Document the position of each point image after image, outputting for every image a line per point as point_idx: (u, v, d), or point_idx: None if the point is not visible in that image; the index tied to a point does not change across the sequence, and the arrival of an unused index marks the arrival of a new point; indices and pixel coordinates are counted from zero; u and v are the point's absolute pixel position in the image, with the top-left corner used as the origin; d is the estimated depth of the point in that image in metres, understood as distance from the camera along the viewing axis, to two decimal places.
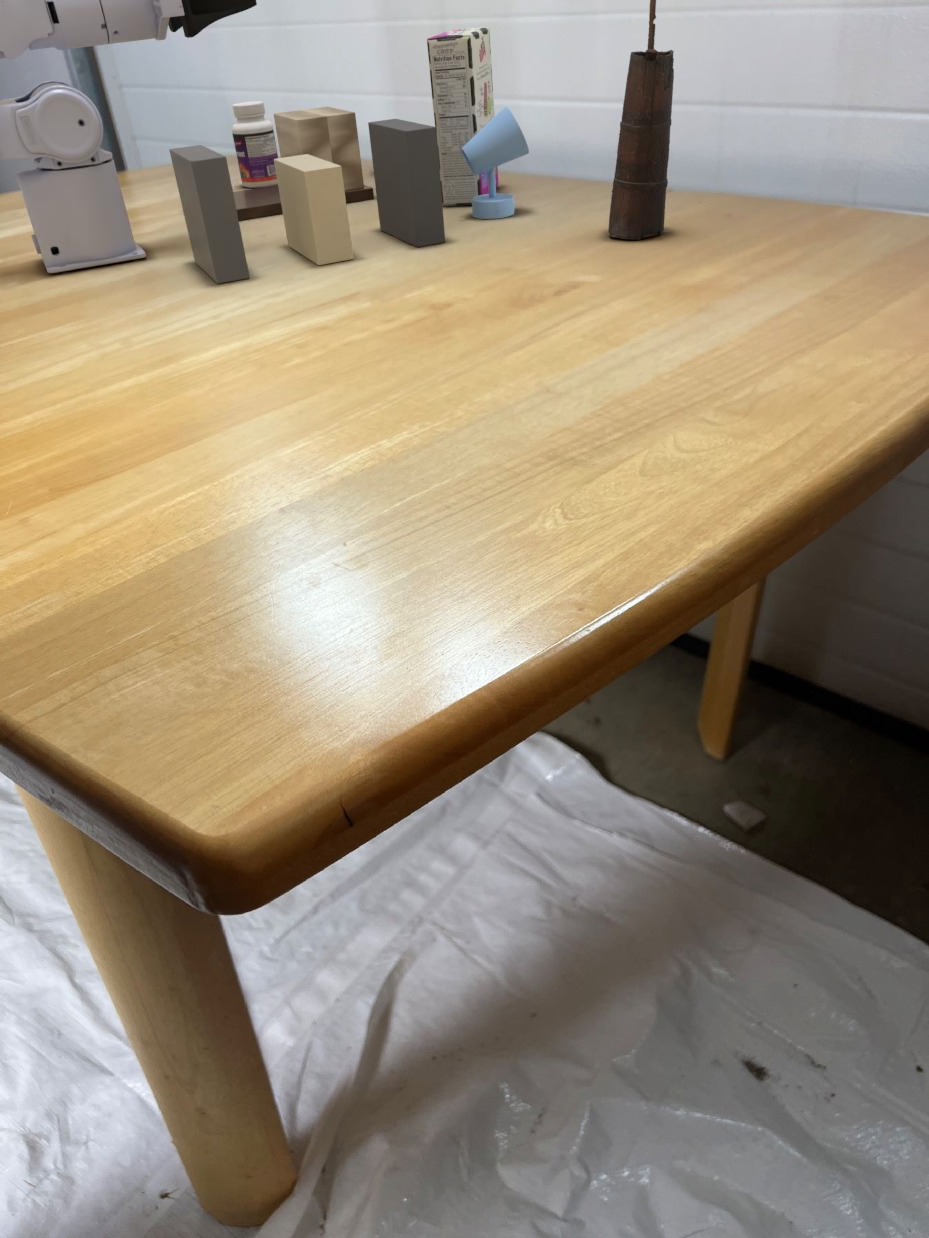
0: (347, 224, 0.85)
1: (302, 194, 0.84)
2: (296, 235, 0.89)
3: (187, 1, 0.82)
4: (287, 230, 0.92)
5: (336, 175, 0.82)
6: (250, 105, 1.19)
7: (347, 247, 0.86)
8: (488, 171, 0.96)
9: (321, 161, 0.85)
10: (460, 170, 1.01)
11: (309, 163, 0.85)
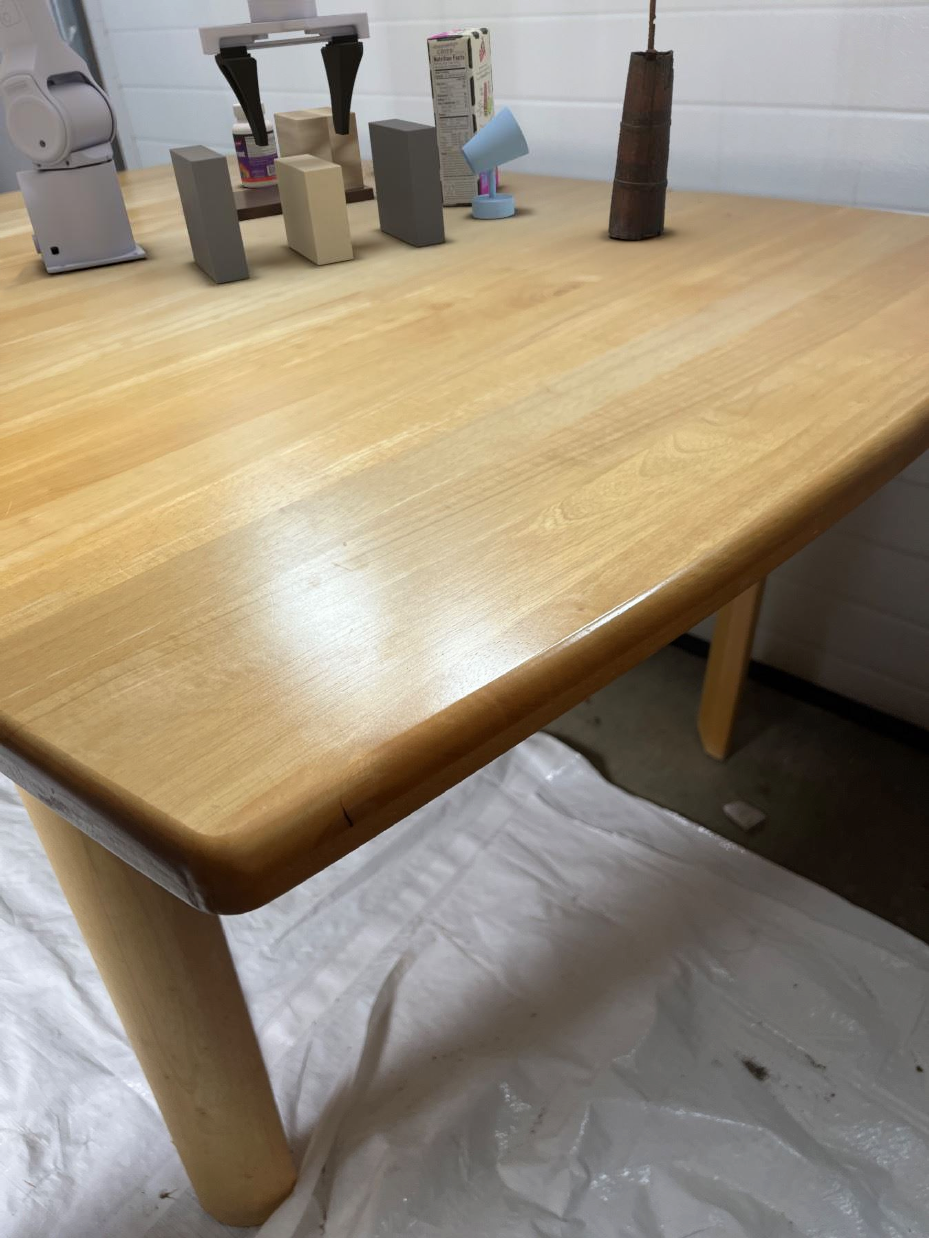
0: (347, 224, 0.85)
1: (302, 194, 0.84)
2: (296, 235, 0.89)
3: (221, 63, 0.79)
4: (287, 230, 0.92)
5: (336, 175, 0.82)
6: None
7: (347, 247, 0.86)
8: (488, 171, 0.96)
9: (321, 161, 0.85)
10: (460, 170, 1.01)
11: (309, 163, 0.85)
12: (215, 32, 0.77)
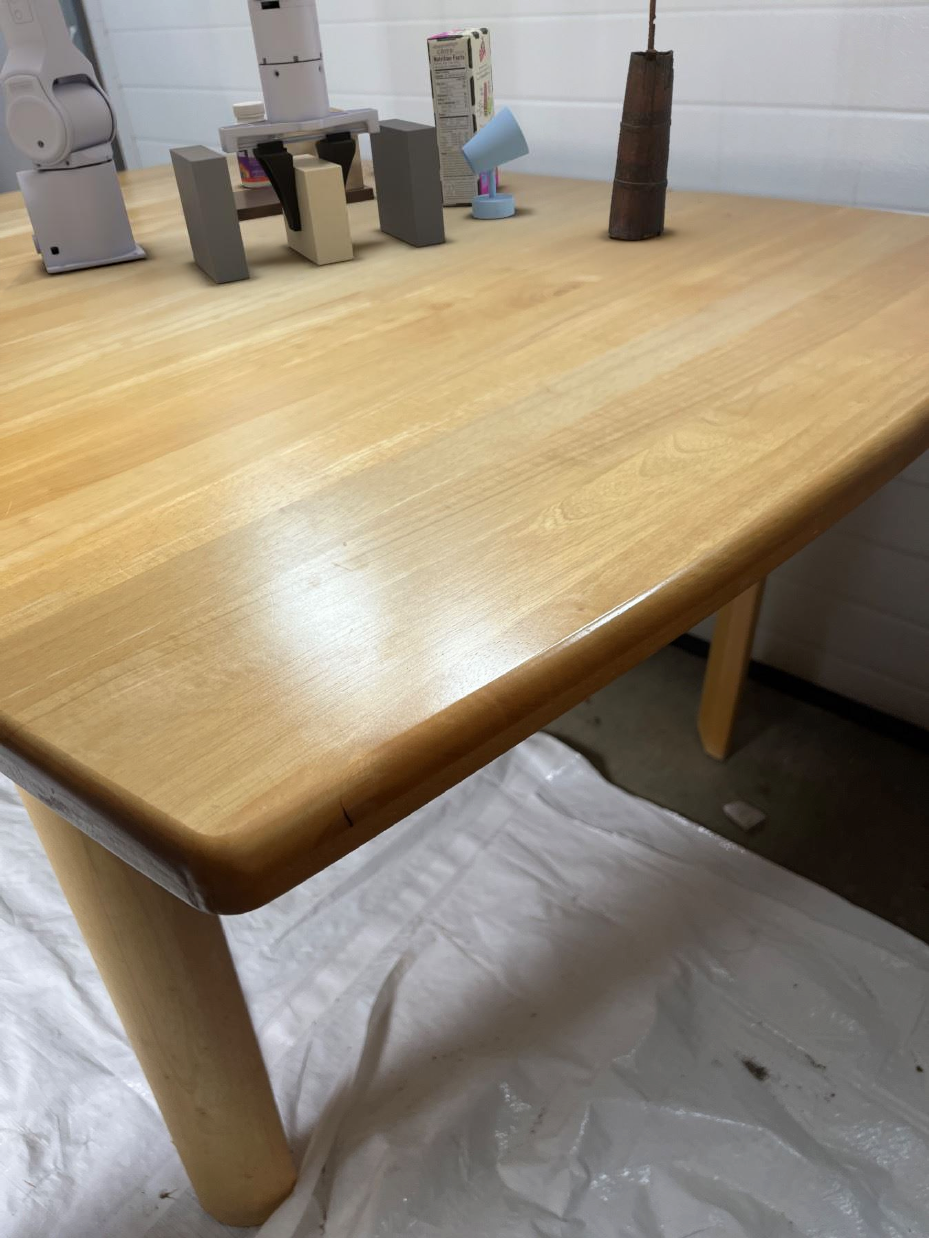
0: (347, 224, 0.85)
1: (302, 194, 0.84)
2: (296, 235, 0.89)
3: (259, 156, 0.84)
4: (287, 230, 0.92)
5: (336, 175, 0.83)
6: (250, 105, 1.19)
7: (347, 247, 0.86)
8: (488, 171, 0.96)
9: (321, 161, 0.85)
10: (460, 170, 1.01)
11: (309, 163, 0.85)
12: (234, 132, 0.81)
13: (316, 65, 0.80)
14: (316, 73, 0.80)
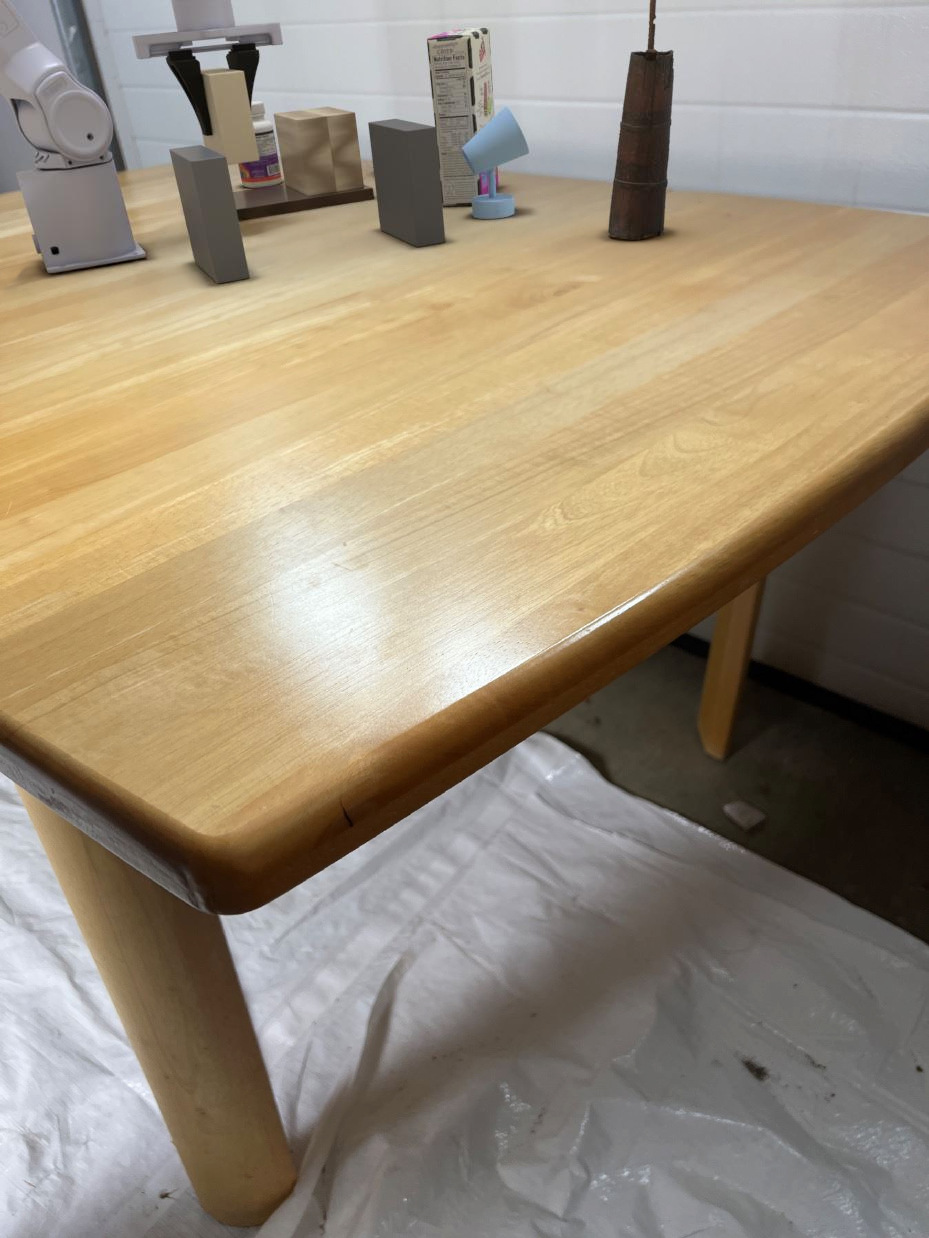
0: (252, 127, 0.94)
1: (209, 98, 0.92)
2: (210, 141, 0.98)
3: (170, 64, 0.92)
4: (204, 139, 1.00)
5: (239, 80, 0.91)
6: None
7: (253, 149, 0.95)
8: (488, 171, 0.96)
9: None
10: (460, 170, 1.01)
11: (217, 71, 0.93)
12: (145, 40, 0.90)
13: None
14: None
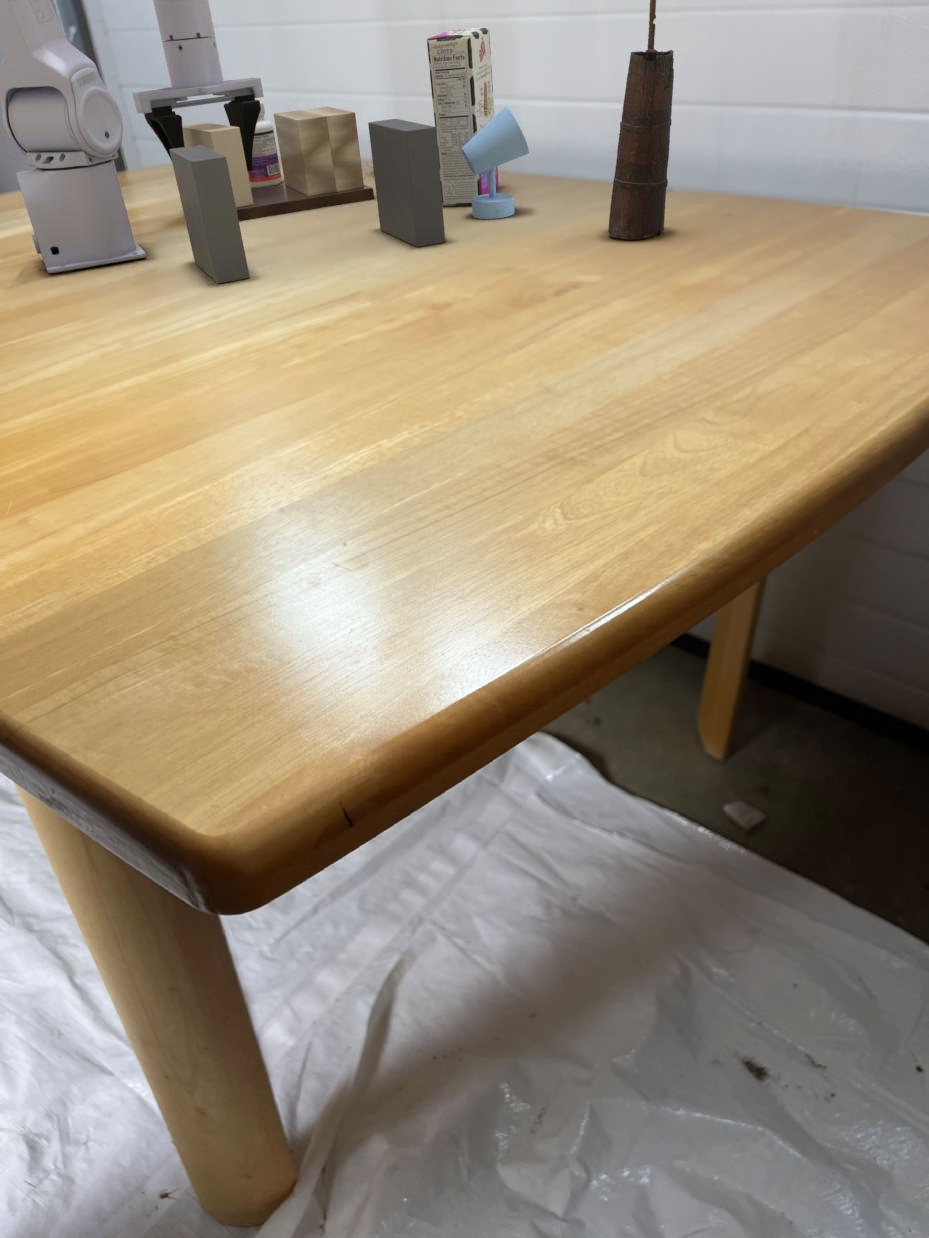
0: (247, 175, 1.05)
1: None
2: None
3: (151, 119, 1.02)
4: None
5: (236, 135, 1.03)
6: None
7: (248, 194, 1.06)
8: (488, 171, 0.96)
9: (219, 125, 1.05)
10: (460, 170, 1.01)
11: (210, 127, 1.04)
12: (147, 96, 0.99)
13: (211, 41, 1.00)
14: (211, 47, 1.00)
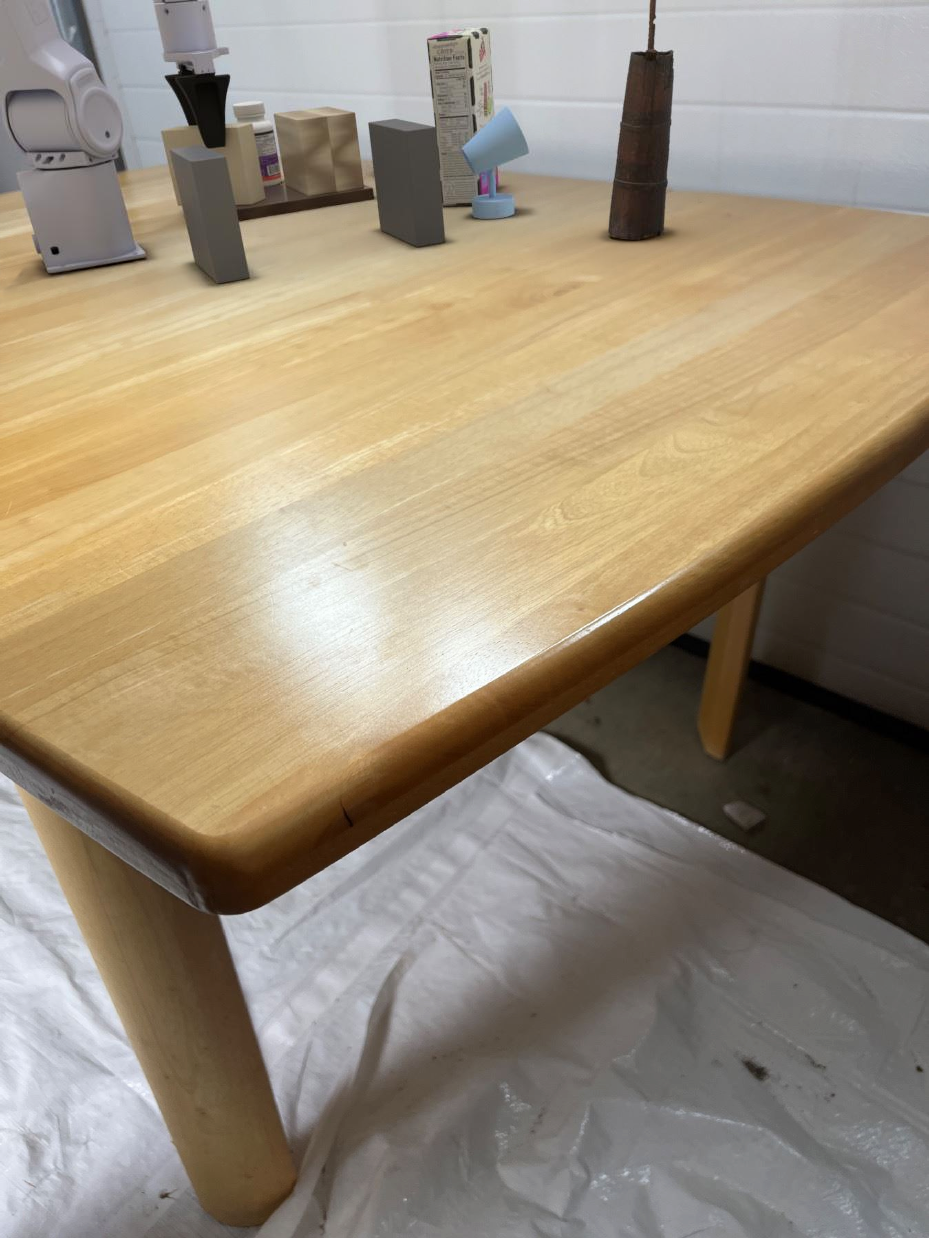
0: (260, 170, 1.08)
1: (227, 148, 1.04)
2: None
3: (205, 80, 0.98)
4: None
5: (251, 130, 1.05)
6: (250, 105, 1.19)
7: (262, 189, 1.09)
8: (488, 171, 0.96)
9: None
10: (460, 170, 1.01)
11: None
12: None
13: None
14: None
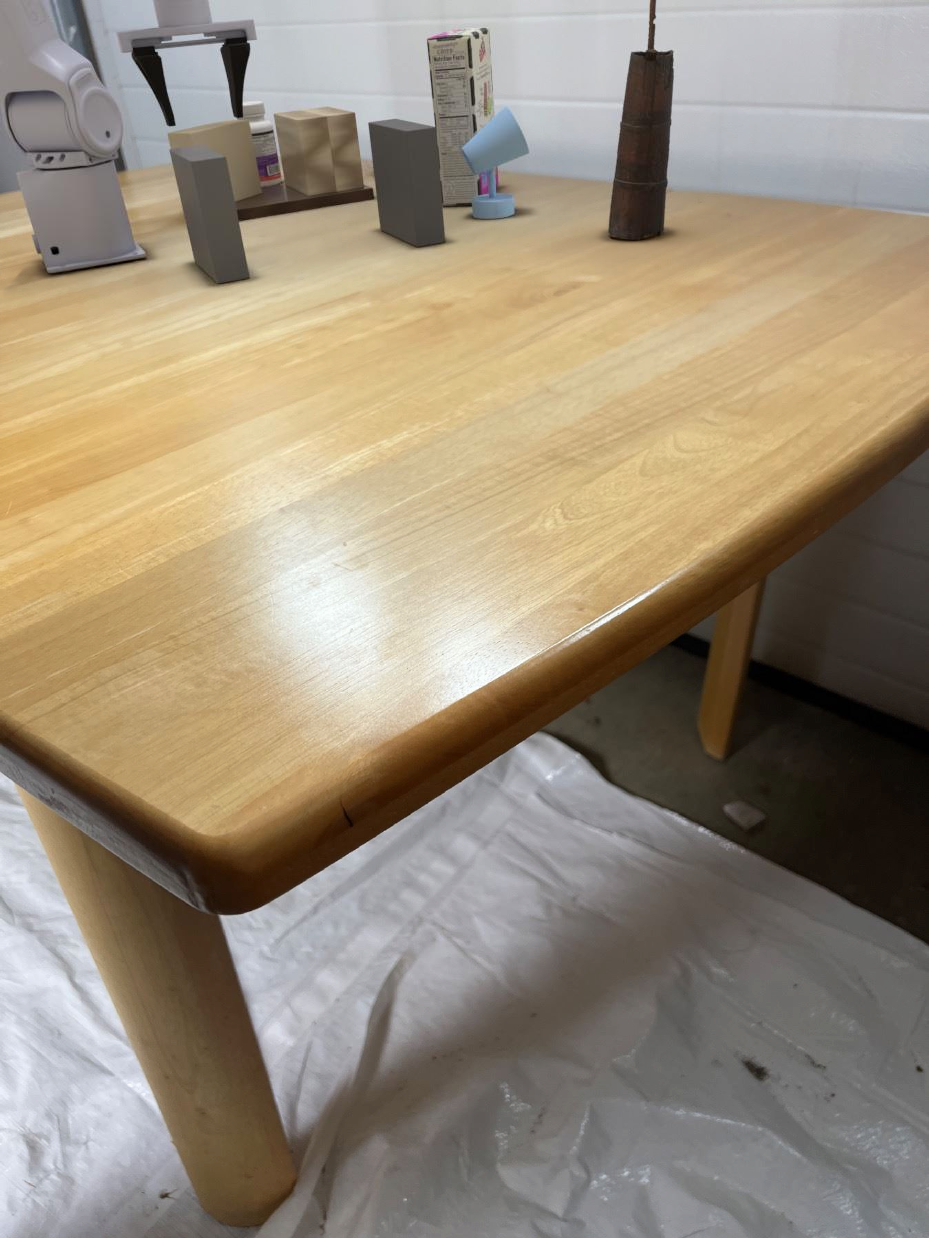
0: None
1: (243, 141, 1.08)
2: None
3: None
4: None
5: None
6: (250, 105, 1.19)
7: None
8: (488, 171, 0.96)
9: (206, 125, 1.07)
10: (460, 170, 1.01)
11: (215, 124, 1.06)
12: None
13: None
14: None
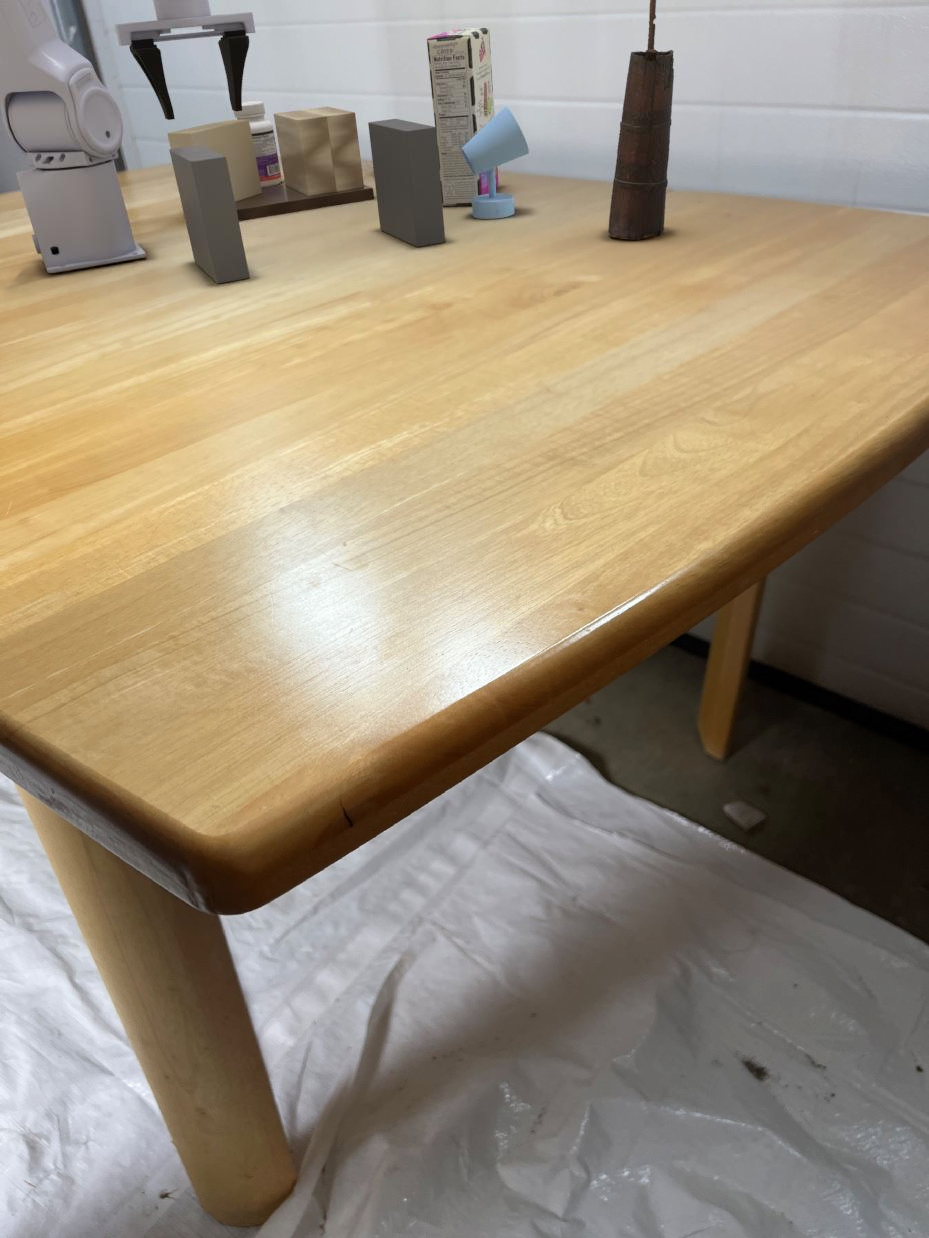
0: None
1: (243, 141, 1.08)
2: None
3: None
4: None
5: None
6: (250, 105, 1.19)
7: None
8: (488, 171, 0.96)
9: (206, 125, 1.07)
10: (460, 170, 1.01)
11: (215, 124, 1.06)
12: None
13: None
14: None
